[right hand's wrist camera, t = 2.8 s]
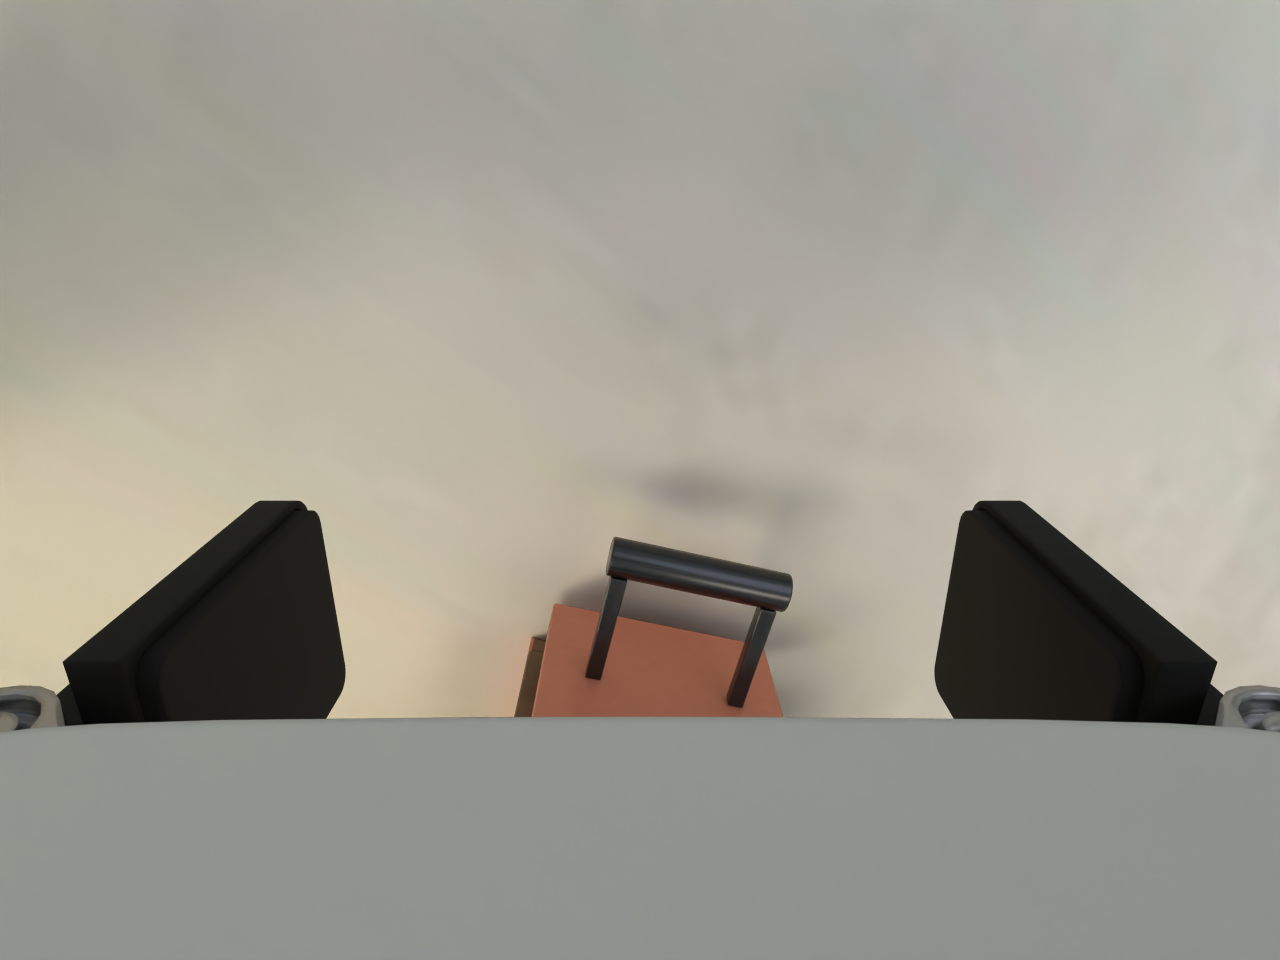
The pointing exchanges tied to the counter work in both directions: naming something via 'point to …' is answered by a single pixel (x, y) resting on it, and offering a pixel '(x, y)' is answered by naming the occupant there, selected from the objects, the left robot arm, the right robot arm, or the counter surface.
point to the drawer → (662, 645)
